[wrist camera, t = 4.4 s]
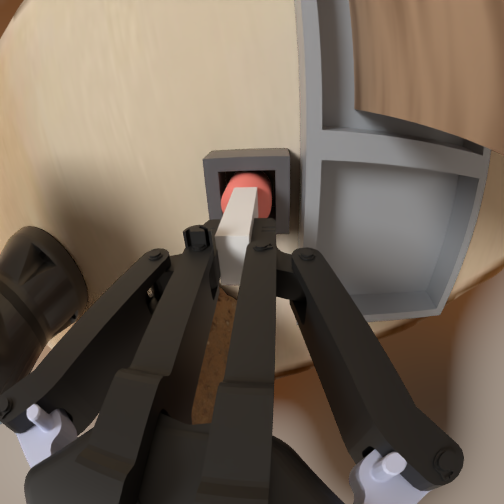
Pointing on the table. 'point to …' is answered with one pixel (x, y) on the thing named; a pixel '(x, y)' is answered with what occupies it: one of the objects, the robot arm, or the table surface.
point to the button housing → (247, 161)
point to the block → (214, 359)
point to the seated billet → (432, 64)
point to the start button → (251, 180)
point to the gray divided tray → (378, 182)
